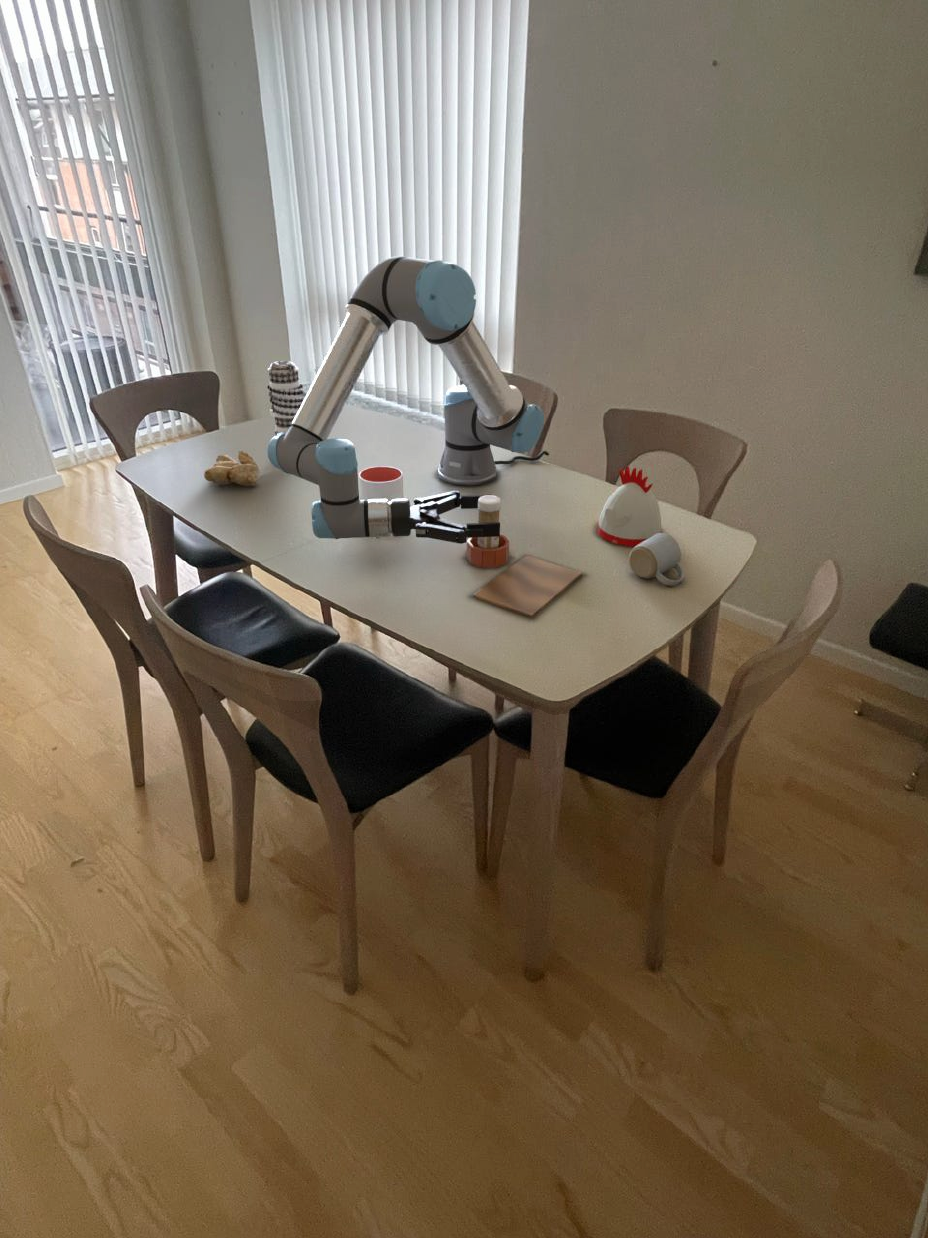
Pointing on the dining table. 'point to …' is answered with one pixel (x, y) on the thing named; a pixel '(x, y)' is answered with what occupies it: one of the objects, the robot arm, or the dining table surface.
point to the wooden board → (528, 586)
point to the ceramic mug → (657, 558)
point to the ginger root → (233, 470)
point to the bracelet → (488, 553)
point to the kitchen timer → (630, 512)
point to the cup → (381, 483)
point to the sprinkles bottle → (488, 519)
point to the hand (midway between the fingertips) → (495, 514)
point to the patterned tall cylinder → (284, 393)
